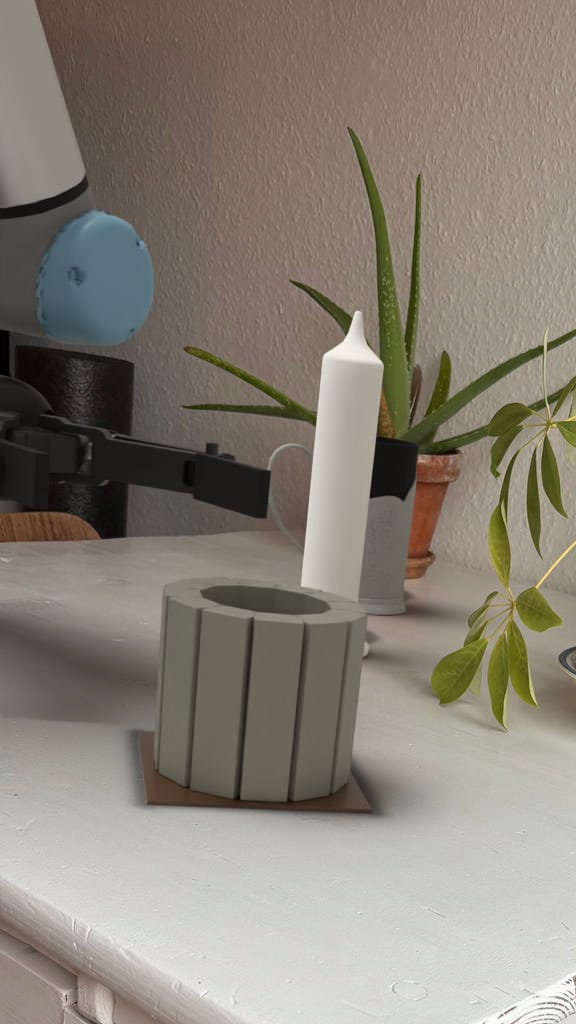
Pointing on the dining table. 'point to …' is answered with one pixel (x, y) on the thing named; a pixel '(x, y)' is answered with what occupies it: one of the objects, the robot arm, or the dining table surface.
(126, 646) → the dining table surface
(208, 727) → the slatted planter pot
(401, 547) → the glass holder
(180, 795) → the peg stand
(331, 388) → the candle
